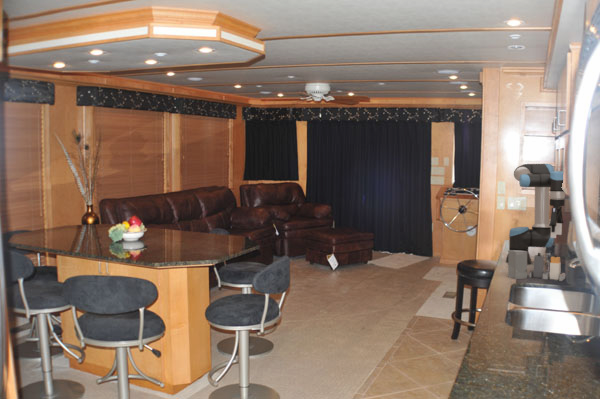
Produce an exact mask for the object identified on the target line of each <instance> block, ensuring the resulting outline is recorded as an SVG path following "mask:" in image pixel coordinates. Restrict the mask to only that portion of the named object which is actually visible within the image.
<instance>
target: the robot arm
mask: <svg viewBox="0 0 600 399" xmlns="http://www.w3.org/2000/svg"><path fill="white" fill-rule="evenodd" d="M563 172H564V171H563V170H561V171H560V170H559V171H558V170H557V171H556V170H555V168H554V166H553V165H552V164H550V163H525V164H521V165H519V166H517V167H516V168H515V169H514V171H513V177H514V179H515V180H516V181H518V183H519V187H520V188H534V224H533V225H532V226H531V228H529V226H517V227H512V228H510V229H509V235H508V236H509V239H508V240H509V242H508V243H509V244H508V245H509V246H508V247H509V249H508V251H509V250H521V251H527V265H531V264H532V259H531V255H530V253H529V248H551V247H552V246H553V245H554V242H555V239H557V235H558V236H562V234H563V232H562V231H563V224H564V222H565V221H564V220H563V206H565V201H566V200H565V198H566V192H565V193H564V191H563V190H562V188H561V187H562V183H563ZM550 207H552V208H551V215H550ZM505 260H506V261H505V262H506V263H507V264H508V254H507V255H506V259H505Z"/></svg>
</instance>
